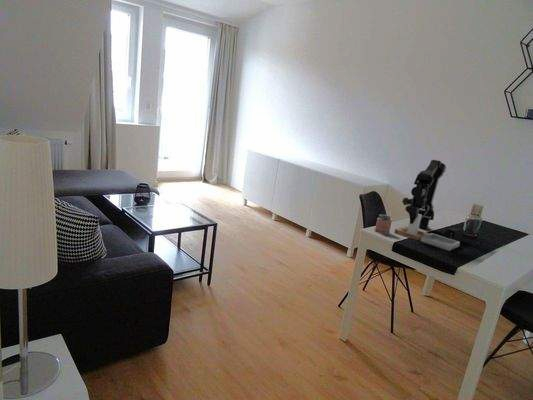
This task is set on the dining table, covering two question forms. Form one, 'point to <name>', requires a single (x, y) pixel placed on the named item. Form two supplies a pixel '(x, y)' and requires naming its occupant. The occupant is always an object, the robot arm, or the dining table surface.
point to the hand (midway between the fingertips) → (414, 222)
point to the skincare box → (414, 225)
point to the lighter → (383, 224)
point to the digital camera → (454, 233)
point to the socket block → (403, 229)
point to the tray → (440, 242)
